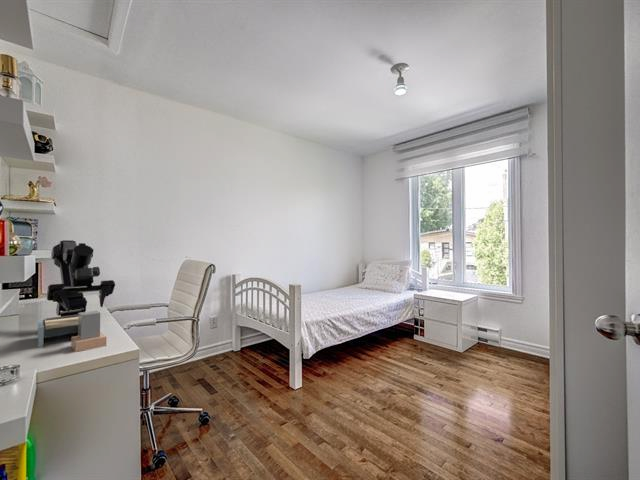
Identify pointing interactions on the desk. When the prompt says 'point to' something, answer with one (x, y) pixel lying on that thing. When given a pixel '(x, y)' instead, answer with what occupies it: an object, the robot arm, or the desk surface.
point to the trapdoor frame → (52, 331)
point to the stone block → (88, 343)
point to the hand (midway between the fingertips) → (85, 308)
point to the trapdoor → (61, 321)
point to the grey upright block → (88, 325)
